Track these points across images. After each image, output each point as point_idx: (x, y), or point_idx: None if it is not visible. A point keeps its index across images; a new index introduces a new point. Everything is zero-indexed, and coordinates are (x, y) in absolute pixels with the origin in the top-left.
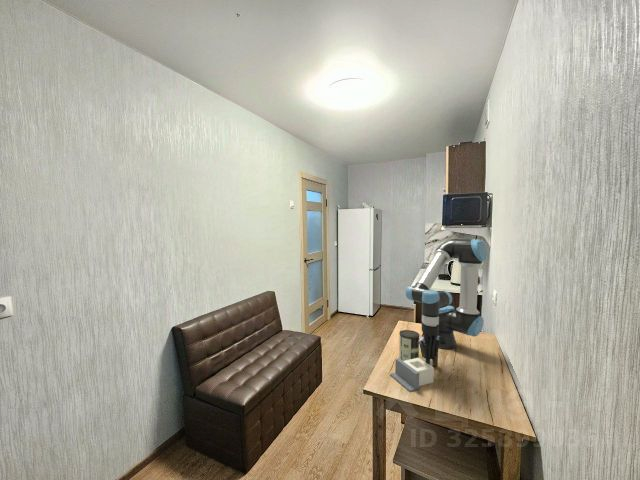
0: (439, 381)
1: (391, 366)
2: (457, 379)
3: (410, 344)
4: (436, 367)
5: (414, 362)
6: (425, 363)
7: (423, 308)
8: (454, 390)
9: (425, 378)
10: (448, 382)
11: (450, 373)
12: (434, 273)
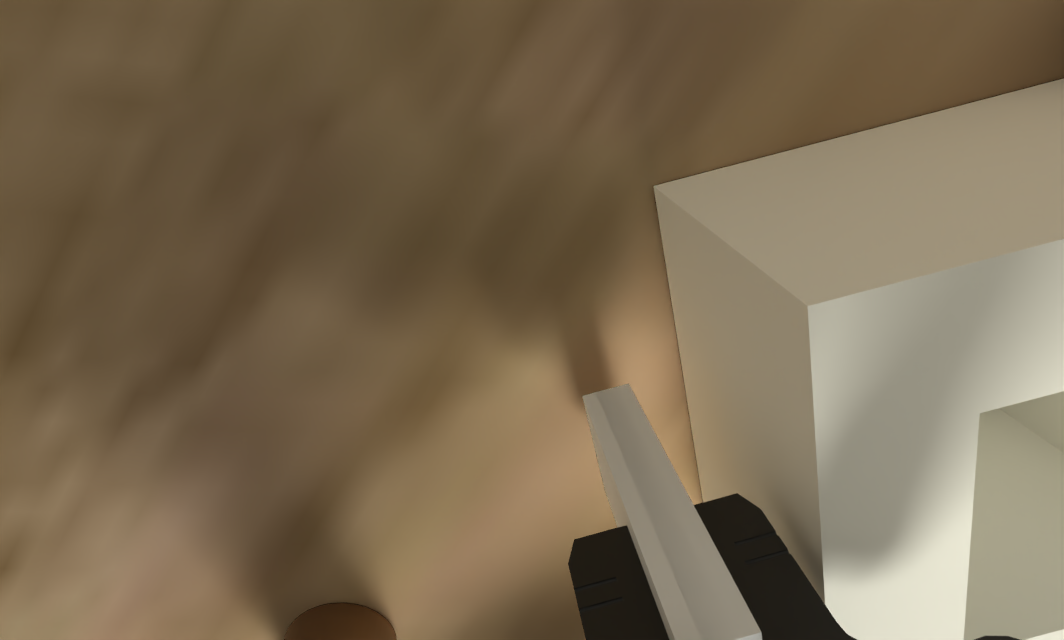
0: (504, 207)
1: None
2: (59, 240)
3: None
4: (321, 610)
5: (1049, 605)
6: (877, 537)
7: None
8: None
9: (937, 155)
10: (327, 152)
11: (126, 446)
12: None
